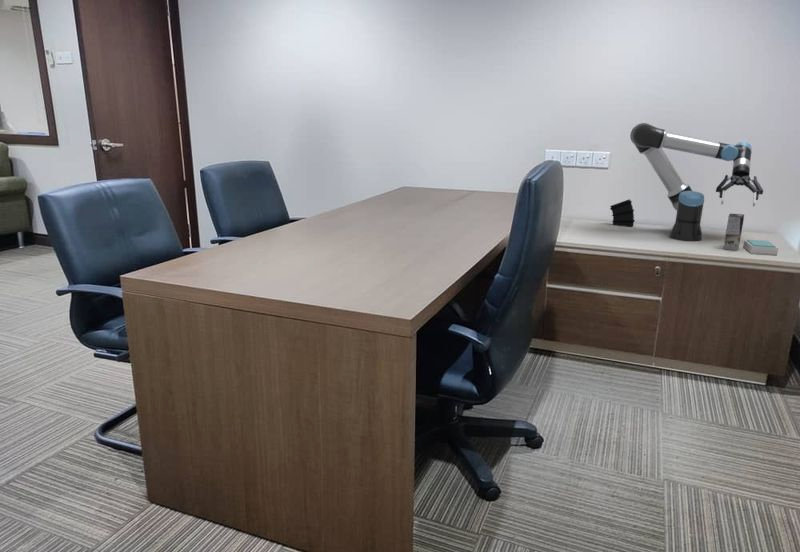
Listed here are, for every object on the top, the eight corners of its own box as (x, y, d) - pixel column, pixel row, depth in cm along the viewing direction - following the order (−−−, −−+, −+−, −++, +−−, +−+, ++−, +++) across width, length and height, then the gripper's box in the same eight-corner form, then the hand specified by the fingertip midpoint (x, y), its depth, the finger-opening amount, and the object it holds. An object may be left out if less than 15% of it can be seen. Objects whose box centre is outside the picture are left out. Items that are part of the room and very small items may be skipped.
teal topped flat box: (750, 253, 276) (752, 246, 275) (743, 247, 288) (744, 240, 287) (776, 255, 273) (778, 248, 272) (768, 248, 286) (769, 241, 285)
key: (753, 249, 276) (753, 244, 275) (746, 243, 287) (747, 239, 286) (774, 250, 273) (775, 246, 273) (767, 244, 284) (768, 240, 284)
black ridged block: (638, 224, 331) (629, 199, 331) (615, 232, 339) (606, 207, 339) (639, 223, 334) (630, 198, 334) (617, 231, 342) (608, 206, 342)
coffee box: (738, 250, 281) (744, 217, 277) (723, 249, 284) (728, 215, 280) (738, 246, 289) (744, 214, 284) (724, 245, 292) (729, 213, 287)
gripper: (768, 175, 296) (766, 210, 287) (712, 173, 306) (708, 206, 297) (771, 165, 290) (769, 200, 281) (714, 163, 300) (710, 197, 291)
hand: (738, 203), depth 289 cm, fingers open, 13 cm apart
